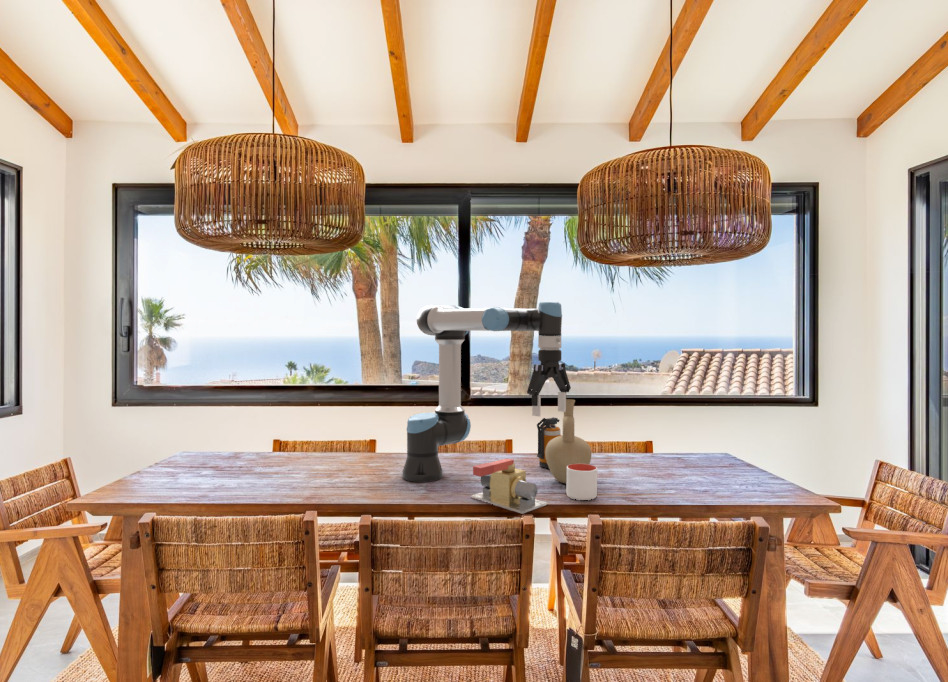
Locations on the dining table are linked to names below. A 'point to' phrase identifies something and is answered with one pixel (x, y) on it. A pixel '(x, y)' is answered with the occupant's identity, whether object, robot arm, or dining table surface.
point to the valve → (510, 491)
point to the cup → (581, 481)
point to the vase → (566, 447)
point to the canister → (546, 437)
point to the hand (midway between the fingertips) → (549, 413)
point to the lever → (494, 467)
